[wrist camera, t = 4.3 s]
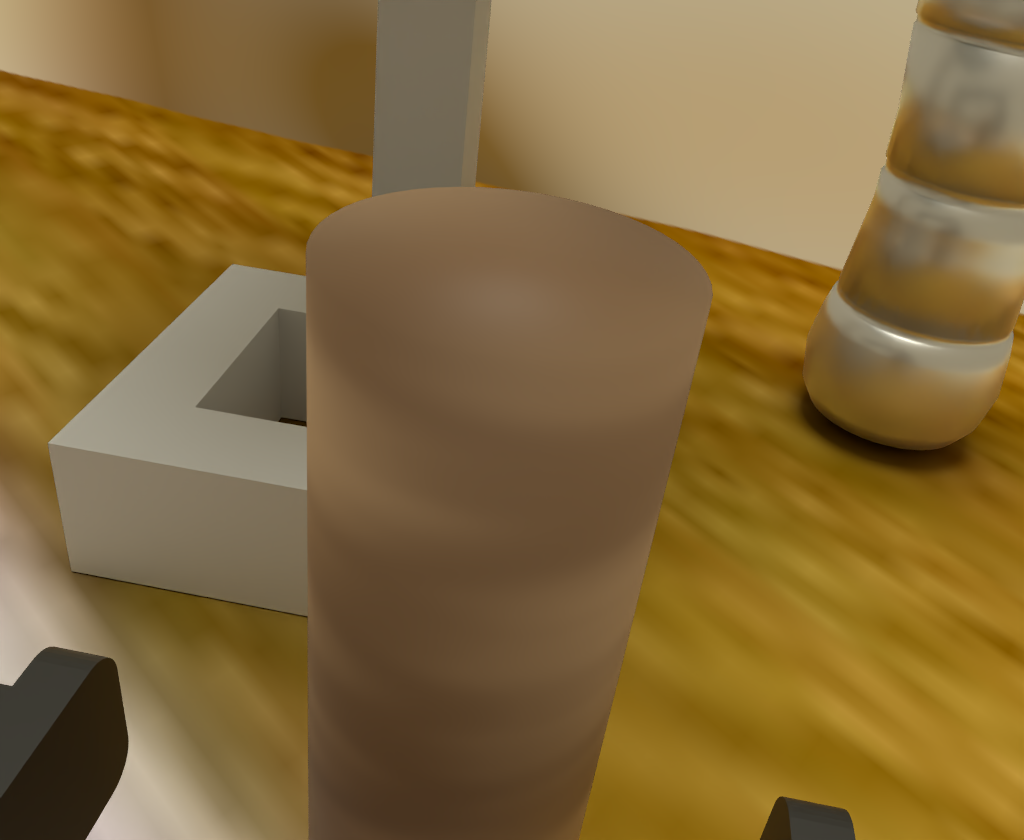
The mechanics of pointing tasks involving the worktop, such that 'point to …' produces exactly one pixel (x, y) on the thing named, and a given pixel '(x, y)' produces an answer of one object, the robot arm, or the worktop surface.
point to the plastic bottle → (934, 243)
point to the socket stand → (254, 368)
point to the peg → (481, 500)
